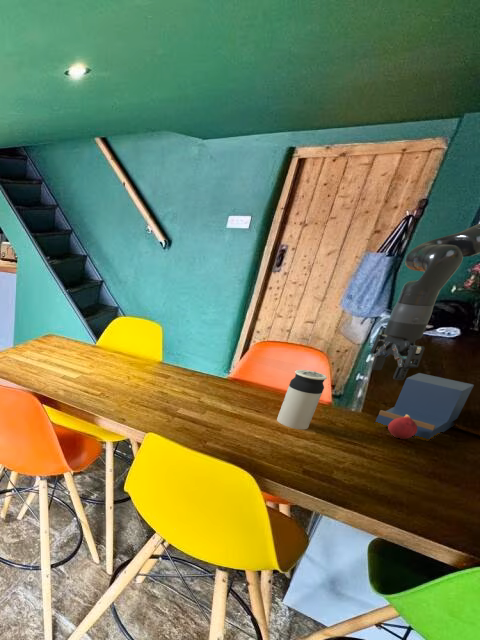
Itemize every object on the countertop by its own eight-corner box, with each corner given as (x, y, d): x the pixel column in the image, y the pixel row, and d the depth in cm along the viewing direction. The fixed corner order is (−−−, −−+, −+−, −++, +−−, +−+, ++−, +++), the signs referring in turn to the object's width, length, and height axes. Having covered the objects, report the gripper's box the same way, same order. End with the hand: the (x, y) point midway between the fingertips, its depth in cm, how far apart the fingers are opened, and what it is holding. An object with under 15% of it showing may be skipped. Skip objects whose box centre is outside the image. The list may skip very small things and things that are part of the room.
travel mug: (313, 431, 124) (335, 377, 117) (294, 434, 122) (315, 379, 115) (287, 419, 131) (306, 368, 124) (269, 422, 129) (288, 370, 122)
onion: (412, 440, 119) (425, 416, 116) (408, 446, 116) (420, 421, 113) (386, 432, 123) (397, 409, 120) (381, 437, 120) (392, 413, 117)
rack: (402, 411, 137) (419, 372, 132) (453, 425, 127) (474, 384, 122) (373, 425, 127) (390, 384, 122) (426, 442, 117) (447, 398, 112)
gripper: (447, 326, 104) (421, 384, 110) (404, 315, 117) (383, 367, 123) (412, 325, 106) (389, 382, 112) (374, 314, 119) (355, 366, 125)
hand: (386, 374), depth 117 cm, fingers open, 8 cm apart
